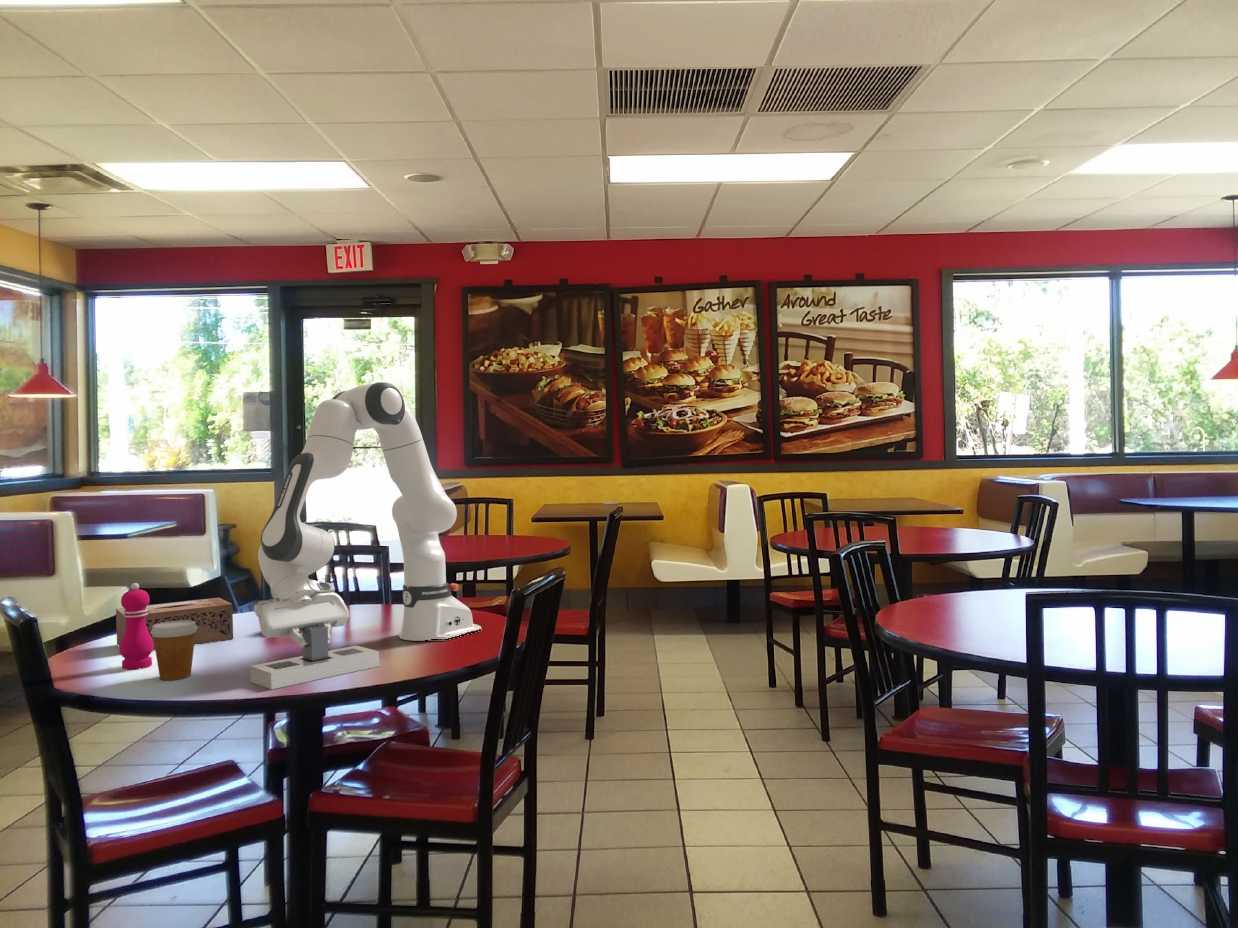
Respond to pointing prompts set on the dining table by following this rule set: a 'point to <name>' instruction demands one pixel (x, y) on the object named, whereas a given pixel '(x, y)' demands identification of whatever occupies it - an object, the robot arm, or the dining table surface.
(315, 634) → the peg
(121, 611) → the tissue box cover
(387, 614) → the dining table surface
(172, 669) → the disposable coffee cup
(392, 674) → the dining table surface
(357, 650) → the rail
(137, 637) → the pepper mill
